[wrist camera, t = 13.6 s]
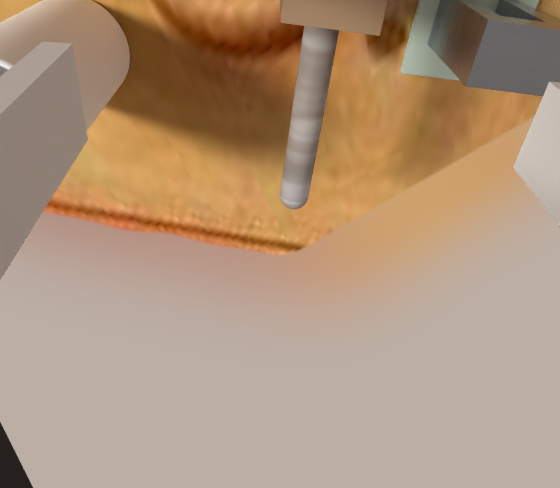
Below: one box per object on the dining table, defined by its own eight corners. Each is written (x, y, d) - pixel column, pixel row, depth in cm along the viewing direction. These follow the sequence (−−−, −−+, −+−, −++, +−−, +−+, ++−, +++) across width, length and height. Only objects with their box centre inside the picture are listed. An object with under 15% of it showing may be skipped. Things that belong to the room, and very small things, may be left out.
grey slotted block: (443, -11, 38) (488, 20, 30) (518, 0, 38) (583, 33, 30) (427, 44, 40) (465, 86, 32) (498, 53, 41) (554, 97, 33)
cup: (53, 106, 44) (-39, 202, 31) (6, 5, 39) (-127, 68, 26) (144, 89, 43) (87, 180, 30) (107, -17, 38) (21, 38, 25)
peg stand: (275, -128, 34) (275, -131, 21) (375, -113, 35) (435, -106, 22) (250, 132, 45) (240, 234, 32) (326, 141, 46) (346, 244, 33)
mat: (432, -52, 37) (434, -51, 36) (548, -35, 38) (552, -34, 37) (400, 70, 42) (401, 73, 42) (502, 84, 43) (505, 86, 42)
